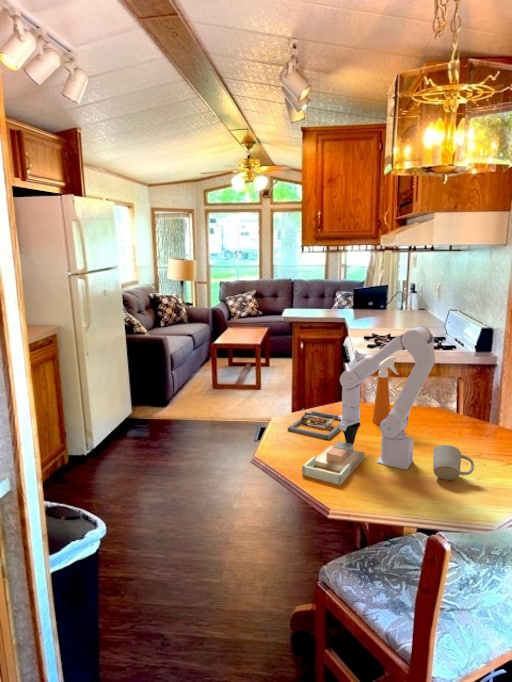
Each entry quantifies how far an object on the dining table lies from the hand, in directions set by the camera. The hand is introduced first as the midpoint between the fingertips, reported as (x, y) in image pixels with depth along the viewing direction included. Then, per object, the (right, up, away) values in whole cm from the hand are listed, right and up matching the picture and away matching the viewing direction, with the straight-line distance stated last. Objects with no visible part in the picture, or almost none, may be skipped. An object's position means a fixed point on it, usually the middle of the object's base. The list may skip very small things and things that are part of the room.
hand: (349, 444), depth 160 cm
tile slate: (-3, -2, -5) cm, 6 cm away
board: (-5, -5, -7) cm, 10 cm away
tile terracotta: (-6, -3, -10) cm, 12 cm away
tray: (-10, -7, -16) cm, 20 cm away
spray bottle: (+19, +2, +27) cm, 33 cm away
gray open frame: (-7, +1, +22) cm, 23 cm away
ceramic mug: (+27, -7, -18) cm, 33 cm away
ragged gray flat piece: (-8, +1, +23) cm, 24 cm away
